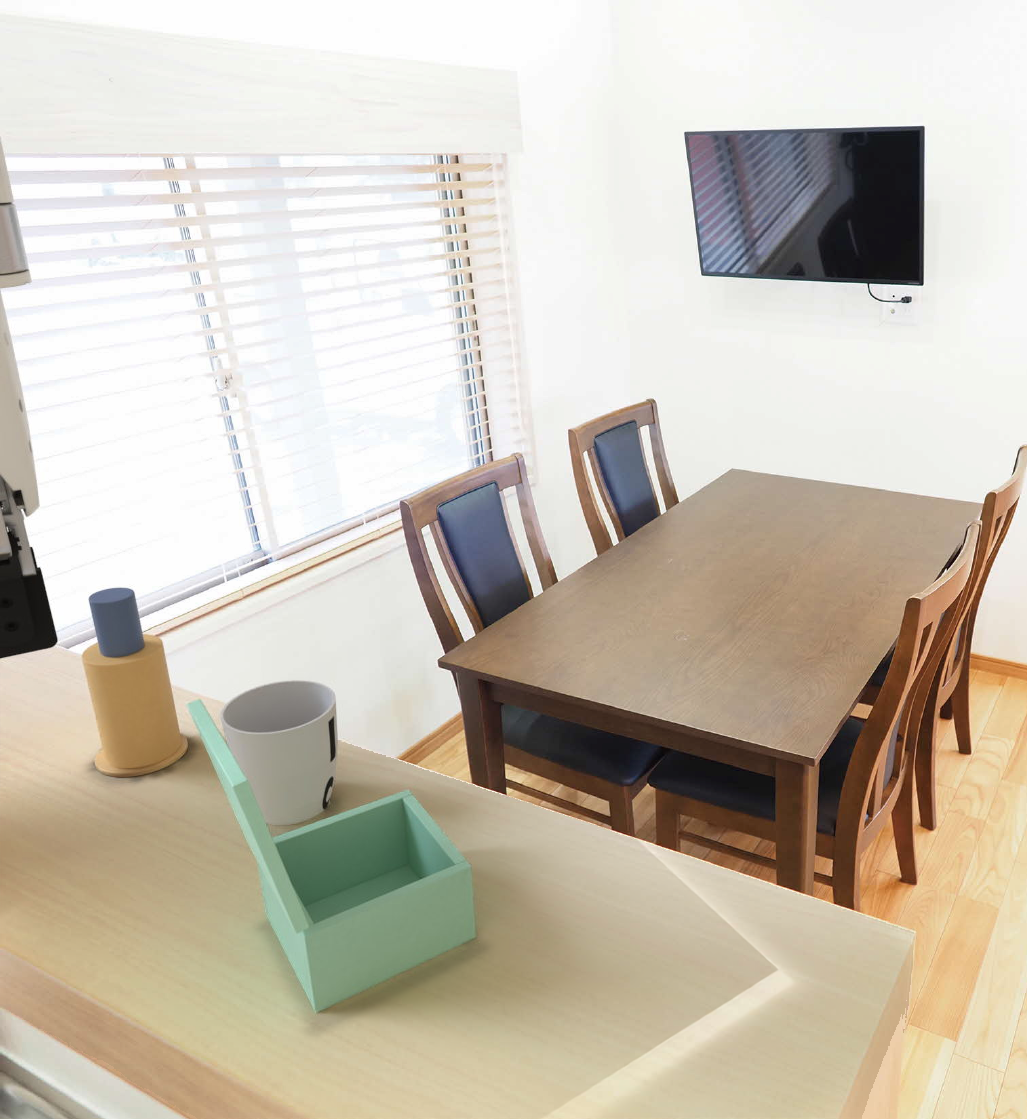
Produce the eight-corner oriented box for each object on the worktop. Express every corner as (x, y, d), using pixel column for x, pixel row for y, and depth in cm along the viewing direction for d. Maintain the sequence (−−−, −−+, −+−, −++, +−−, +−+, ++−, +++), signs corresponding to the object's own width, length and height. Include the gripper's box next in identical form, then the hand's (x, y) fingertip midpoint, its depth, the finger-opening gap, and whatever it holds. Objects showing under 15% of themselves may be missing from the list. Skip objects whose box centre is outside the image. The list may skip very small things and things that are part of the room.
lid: (199, 697, 58) (185, 703, 58) (247, 779, 51) (232, 787, 51) (259, 835, 64) (246, 841, 63) (310, 927, 56) (296, 935, 56)
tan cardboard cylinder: (111, 776, 80) (74, 615, 74) (99, 745, 84) (64, 590, 78) (188, 754, 83) (159, 599, 78) (173, 725, 88) (144, 576, 82)
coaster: (102, 787, 79) (101, 783, 79) (89, 748, 84) (88, 745, 84) (196, 759, 83) (195, 755, 83) (178, 724, 88) (177, 721, 88)
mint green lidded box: (415, 863, 73) (408, 788, 70) (476, 945, 65) (472, 866, 63) (266, 923, 66) (253, 843, 64) (316, 1022, 59) (304, 937, 56)
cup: (356, 825, 76) (343, 718, 73) (244, 855, 72) (224, 744, 69) (339, 773, 83) (326, 672, 79) (234, 798, 79) (216, 693, 75)
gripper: (-200, 232, 43) (-90, 601, 50) (-224, 267, 32) (-78, 737, 39) (6, 234, 48) (80, 571, 54) (48, 265, 36) (135, 685, 43)
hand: (13, 637), depth 46 cm, fingers closed
